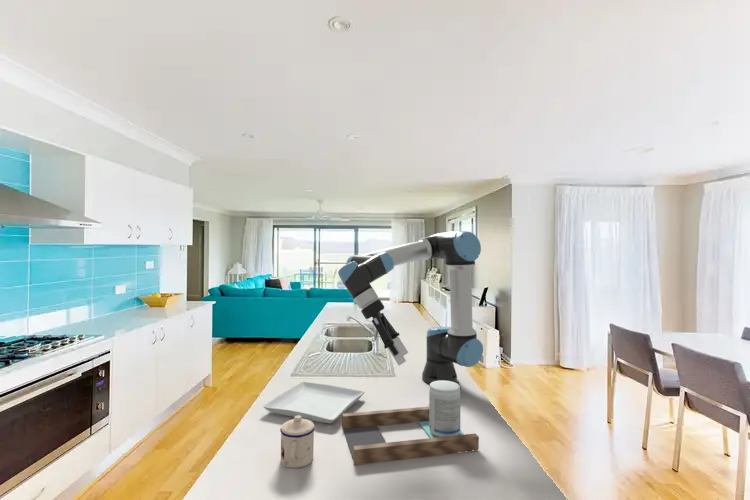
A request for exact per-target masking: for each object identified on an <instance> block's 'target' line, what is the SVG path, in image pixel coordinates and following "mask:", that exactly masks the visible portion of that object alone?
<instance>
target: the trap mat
mask: <svg viewBox="0 0 750 500" xmlns="http://www.w3.org/2000/svg"><path fill="white" fill-rule="evenodd" d="M342 429H343V428H342ZM343 434H344V437H345V439H346V443H347V446H348V449H349V452H350V455H351V458H352V460H353V446H359V445H369V444H379V443H387V442H386V440H385V438H384V436H383V433H382V432H381V430H380V428H379V426H369V427H358V428H347V429H343Z"/></svg>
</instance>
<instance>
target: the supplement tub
mask: <svg viewBox="0 0 750 500" xmlns="http://www.w3.org/2000/svg"><path fill="white" fill-rule="evenodd" d="M428 395H429V398H428V399H429V402H428V403H429V405H428V407H429V429H430V432H431V433H432V434H433V435H435V436H437V437H446V436H456V435H459V434H460V430H461V387H460V384H458V382H457V383H455V382H452V381H445V380H439V381H434V382H432V383H430V384H429V393H428Z"/></svg>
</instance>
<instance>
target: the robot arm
mask: <svg viewBox="0 0 750 500" xmlns="http://www.w3.org/2000/svg"><path fill="white" fill-rule="evenodd" d="M479 239H480V238H479V237H478V236H476V234H474V233H473V232H471V231H466V230H460V231H459V230H458V231H443V232H438V233H435V234H432V235H428V236H425V237H420V238H419V239H418V241H415V242H409V243H405V244H400V245H398V246H392V247H388V248H384V249H381V250H375V251H371V252H368V253H363V254H353V255H350V256H349V257H348V259H347V260H346V263H345V265H343V266H342V267H340V269H339V270H338V271H337V272H338V273H337V274H338V277H339V278H340V280H341V282H342V284H343V285H344V287H345V288H346V290H347V291H348V293H349V294H350V296H351V298H352V299H353V301H354V302H353V304H354V305H356V306H357V308H358V309H361V312H360V313H362V316H363V317H364V319H366V320H369V319H370V318H372V319H371V322H372V324H373V326H374V327H375V329H376V331H377V333H378V335H379V337H380V339H381V341H382V343H383V347H384V349H385V350H386V349H387V350H388V351H389V352H390V353H391V355H392V357H393V359H394V361H395V362H396V363H397V365H398V366H401V365H403V364H404V363H406V362H407V359H406V358H405V357H404V356H406V355H407V354H409V351H408V350H407V347H406V346H405V345H404V343H403V341H402V339H401V338H400V337H399V336H400V335H401V334H400V333H399V332H397V331H396V329H395V328H394V327H393V325H392V324H391V323H390V321H389V319H388V318H387V317H386V315H385V314H384V313H383V312H381V311H383V310H384V309H385V305H384V304H383V302H382V301H381V299H378V298H379V295H378V294H377V292H376V291H375V289H374V287H372V285H371V283H373V282H374V281H376V280H378V279H380V278H381V277H383V276H385V275H387V274H389V273H390V272H391V271H392V270H393V269H394V268H395V267H397V266H400V265H403V264H407V263H412V262H415V261H419V260H424V261H429V260H434V259H435V260H445V266H446V267H447V268H448V269H449V270H448V271H449V298H450V299H449V300H450V302H449V303H450V304H449V305H450V326H434V327H430V328H428V329H427V331H426V359H425V360H426V361H425V364H424V368H423V371H422V374H421V375H422V376H421V379H422V382H424V383H426V384H429V385H430V383H432V382H434V381H439V380H445V381H452V382H455V383H456V382H457V383H458V375H457V371H456V368H455V364H456V365H458V366H461V367H465V368H472V367H474V366H476V365H477V364H478V363H479V362H480V360H481V359H482V356H483V354H484V344H483V343H482V342H481V340H479V338H477V337H478V336H477V330H476V329H474V327H473V325H474V324H473V296H472V295H473V293H472V292H473V291H472V289H473V287H472V286H473V285H472V268H473V267H475V265H476V262H475V261H477V259H478V258H479V256H480V254H481V251H482V246H481V242H480V240H479Z"/></svg>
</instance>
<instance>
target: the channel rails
mask: <svg viewBox="0 0 750 500" xmlns="http://www.w3.org/2000/svg"><path fill="white" fill-rule="evenodd" d="M341 416H342V420H341V426H342V429H347V428H358V427H369V426H378V427H379V426H389V425H391V426H392V425H400V424H411V423H419V422H423V421H429V406H420V407H418V406H417V407H407V408H397V409H396V408H395V409H394V408H393V409H383V410H372V411H371V410H370V411H359V412H348V413H345V412H344V413H343V414H342V415H341ZM464 434H465V433H464ZM479 438H480V437H479V435H478V434H476V433H467V434H465V435H456V436H446V437H436V438H430V437H427V438H419V439H410V440H398V441H389V442H386V443H379V444H369V445H359V446H353V459H352V462H353V464H354V466H359V465H365V464H366V465H367V464H376V463H383V462H391V461H401V460H410V459H418V458H427V457H435V456H436V457H437V456H445V455H444V454H446V455H452V453H454V454H459V453H458V452H463V453H466V452H465V451H472V450H478V449H479V446H480V445H479V444H480V442H479V441H480V439H479ZM479 450H480V449H479ZM472 452H473V451H472Z"/></svg>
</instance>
